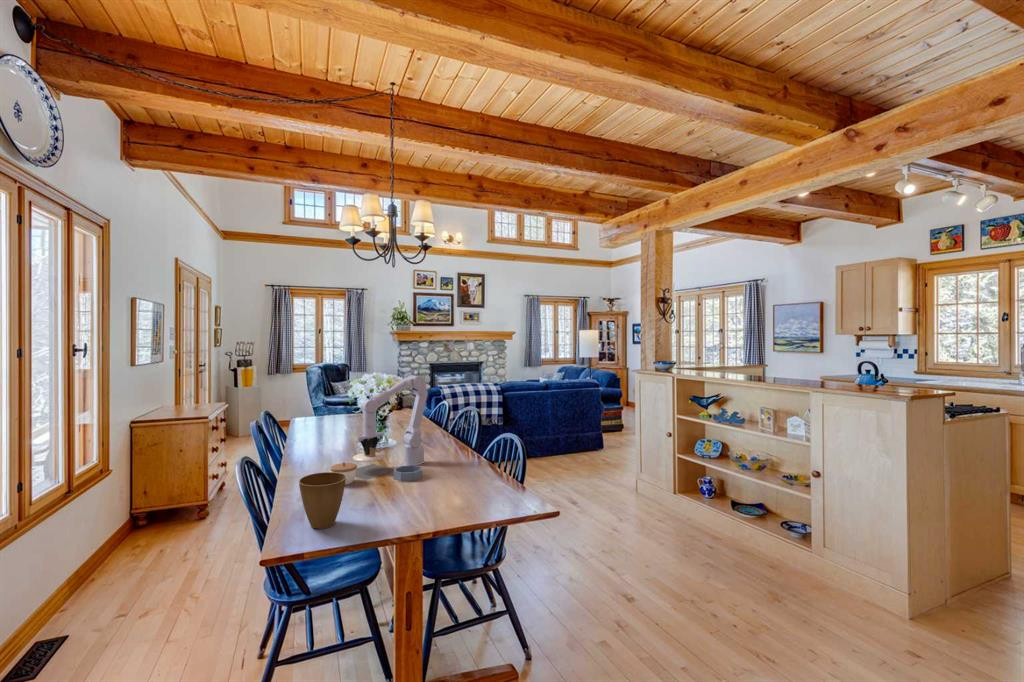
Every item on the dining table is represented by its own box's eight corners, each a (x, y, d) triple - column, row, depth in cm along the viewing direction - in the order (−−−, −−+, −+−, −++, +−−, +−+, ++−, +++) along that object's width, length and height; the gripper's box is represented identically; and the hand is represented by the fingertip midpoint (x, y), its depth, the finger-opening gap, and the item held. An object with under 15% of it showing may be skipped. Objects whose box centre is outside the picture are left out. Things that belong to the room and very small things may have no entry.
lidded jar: (361, 480, 213) (360, 459, 213) (350, 488, 203) (350, 466, 202) (337, 479, 214) (337, 458, 214) (326, 487, 204) (325, 465, 204)
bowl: (408, 472, 226) (408, 464, 226) (427, 476, 219) (427, 468, 219) (388, 478, 216) (388, 470, 216) (407, 483, 209) (407, 474, 209)
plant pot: (289, 532, 158) (289, 483, 158) (315, 515, 173) (315, 470, 172) (331, 535, 155) (330, 486, 155) (354, 518, 170) (354, 473, 170)
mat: (372, 464, 239) (372, 463, 239) (397, 470, 229) (397, 469, 229) (341, 473, 224) (341, 472, 224) (366, 480, 214) (366, 479, 214)
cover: (372, 451, 236) (371, 443, 236) (393, 456, 228) (393, 447, 228) (346, 458, 224) (346, 449, 224) (367, 463, 216) (367, 454, 216)
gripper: (376, 422, 234) (376, 449, 234) (351, 426, 222) (351, 456, 222) (386, 423, 230) (386, 451, 230) (361, 428, 218) (361, 458, 218)
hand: (369, 454), depth 226 cm, fingers closed on cover, 2 cm apart
